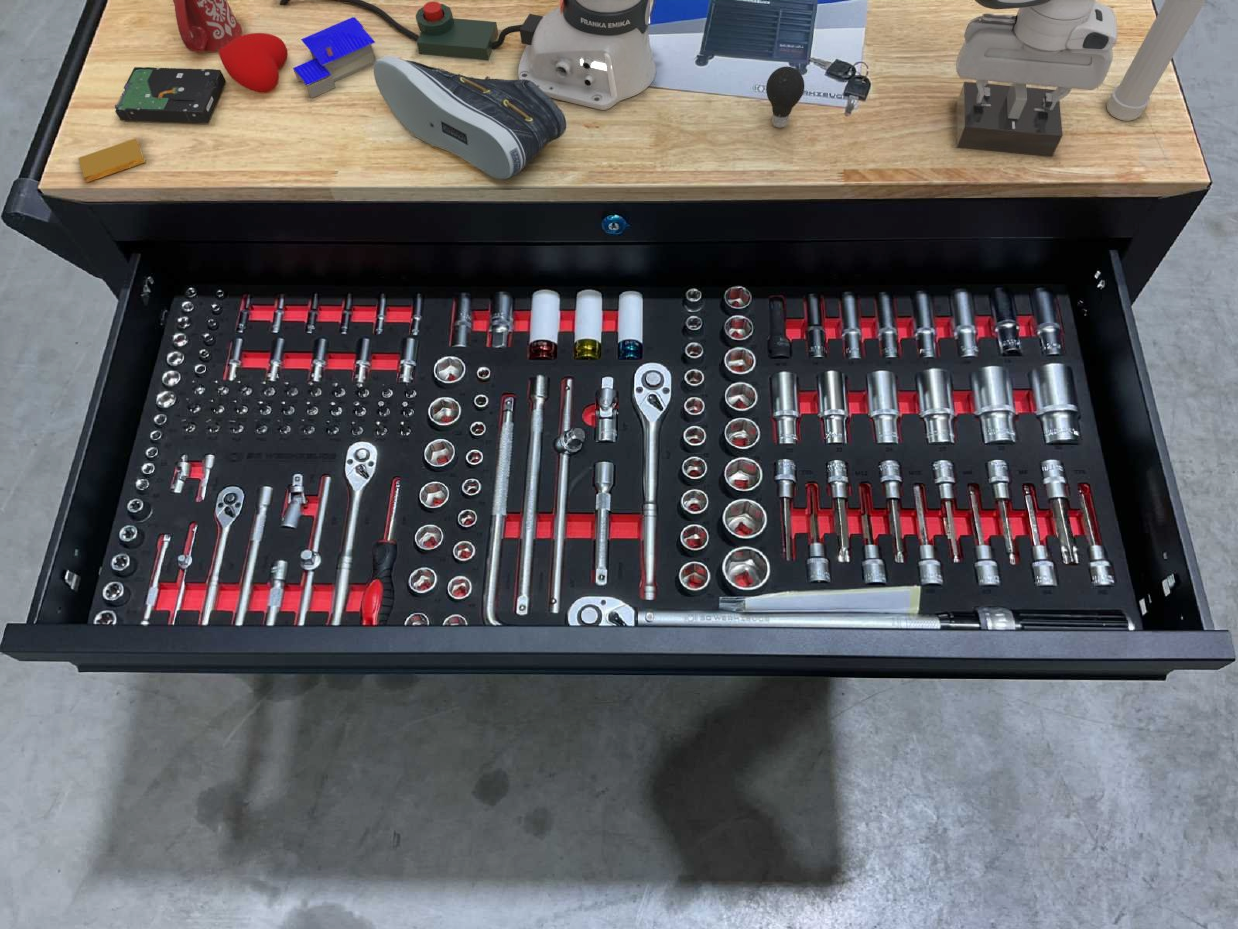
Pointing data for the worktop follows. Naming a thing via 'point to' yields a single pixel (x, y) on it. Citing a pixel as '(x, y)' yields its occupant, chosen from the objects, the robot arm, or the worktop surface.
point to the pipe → (1153, 58)
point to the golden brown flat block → (111, 160)
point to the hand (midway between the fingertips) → (1013, 104)
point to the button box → (455, 36)
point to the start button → (433, 11)
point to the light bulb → (784, 93)
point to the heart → (255, 60)
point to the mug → (206, 24)
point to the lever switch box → (1007, 122)
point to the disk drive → (170, 95)
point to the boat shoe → (471, 114)
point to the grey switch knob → (1016, 100)
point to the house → (335, 55)
